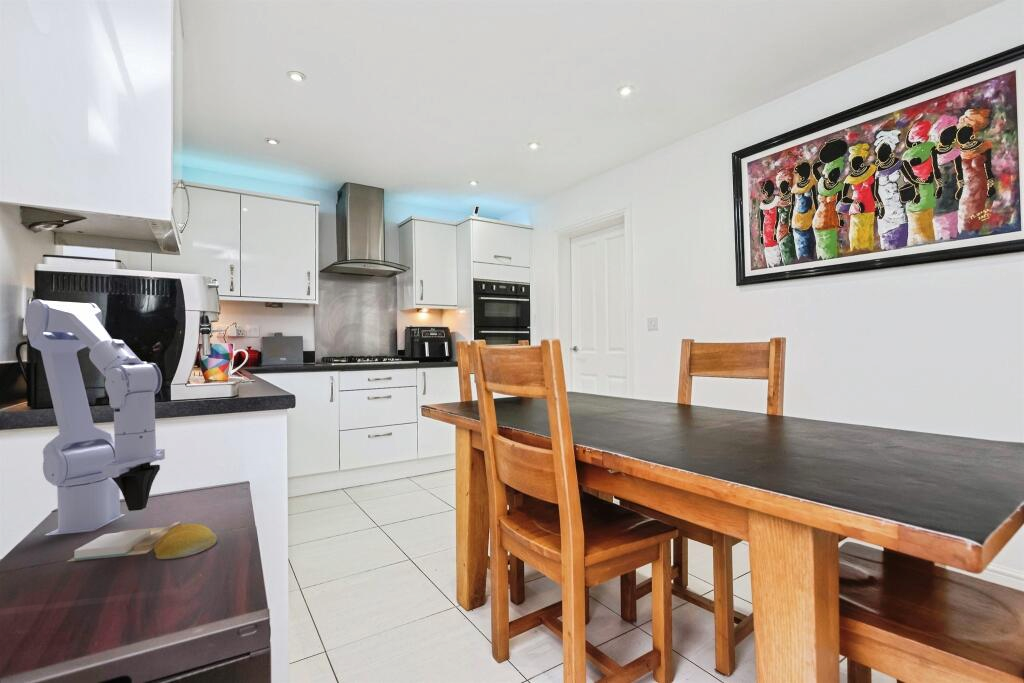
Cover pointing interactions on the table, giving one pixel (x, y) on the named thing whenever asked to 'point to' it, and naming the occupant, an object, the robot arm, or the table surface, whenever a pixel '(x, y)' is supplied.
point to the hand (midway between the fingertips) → (137, 509)
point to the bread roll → (184, 541)
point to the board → (153, 530)
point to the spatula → (154, 538)
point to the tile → (111, 545)
